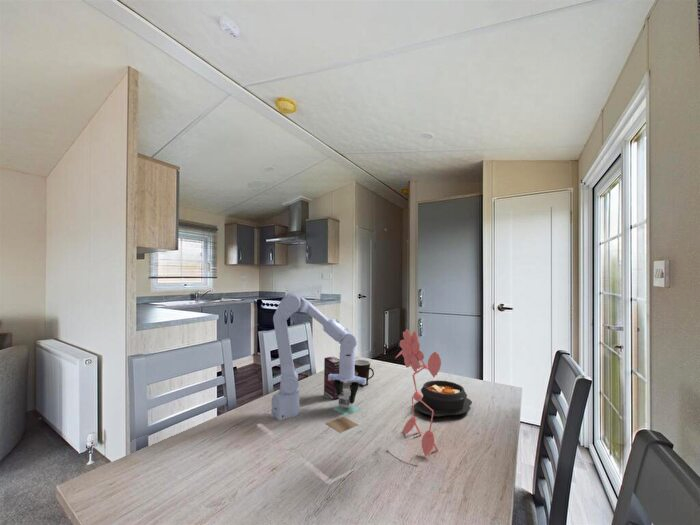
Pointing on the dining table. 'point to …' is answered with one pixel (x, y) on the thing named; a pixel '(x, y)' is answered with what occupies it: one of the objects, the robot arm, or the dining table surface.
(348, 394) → the box
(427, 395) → the casserole
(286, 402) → the robot arm
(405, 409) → the dining table surface
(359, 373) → the coffee mug
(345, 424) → the stand
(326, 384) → the supplement box
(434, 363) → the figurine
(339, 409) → the stand
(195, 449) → the dining table surface
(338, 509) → the dining table surface
